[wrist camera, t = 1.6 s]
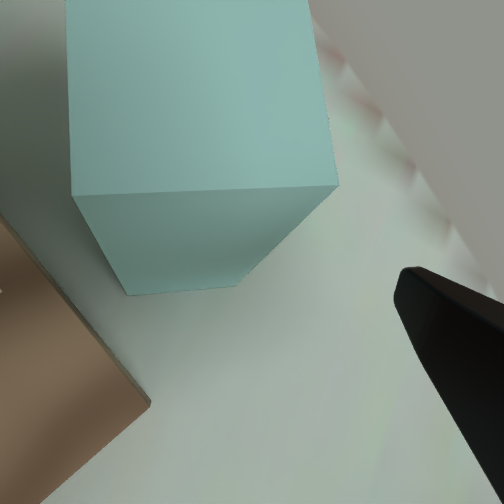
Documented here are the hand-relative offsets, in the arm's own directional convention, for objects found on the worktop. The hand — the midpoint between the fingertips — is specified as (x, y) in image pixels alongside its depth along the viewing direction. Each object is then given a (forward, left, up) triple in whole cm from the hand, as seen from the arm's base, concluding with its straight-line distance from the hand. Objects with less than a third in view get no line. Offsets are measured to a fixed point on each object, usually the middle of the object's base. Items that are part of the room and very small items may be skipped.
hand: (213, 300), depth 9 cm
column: (+4, -2, -11) cm, 12 cm away
